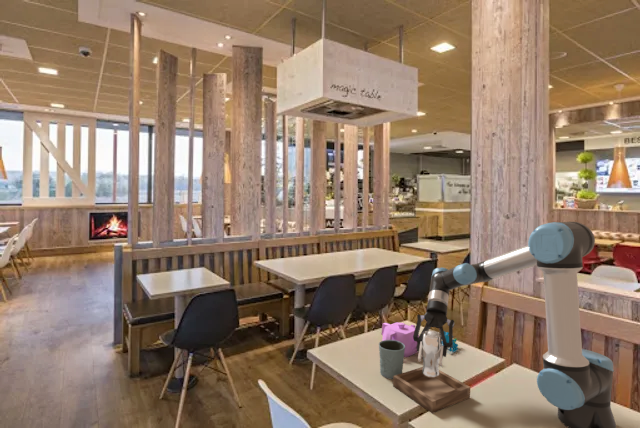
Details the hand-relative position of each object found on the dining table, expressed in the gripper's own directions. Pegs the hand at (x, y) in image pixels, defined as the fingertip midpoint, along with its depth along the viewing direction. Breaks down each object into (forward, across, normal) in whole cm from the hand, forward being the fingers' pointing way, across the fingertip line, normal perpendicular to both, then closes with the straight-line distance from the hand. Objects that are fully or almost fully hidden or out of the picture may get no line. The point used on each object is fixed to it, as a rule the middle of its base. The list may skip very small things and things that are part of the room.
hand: (429, 362), depth 131 cm
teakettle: (-15, +17, -34) cm, 41 cm away
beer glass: (+2, 0, -7) cm, 7 cm away
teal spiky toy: (-23, -3, -41) cm, 47 cm away
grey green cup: (+2, +16, -16) cm, 23 cm away
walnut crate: (+7, 0, -11) cm, 13 cm away
